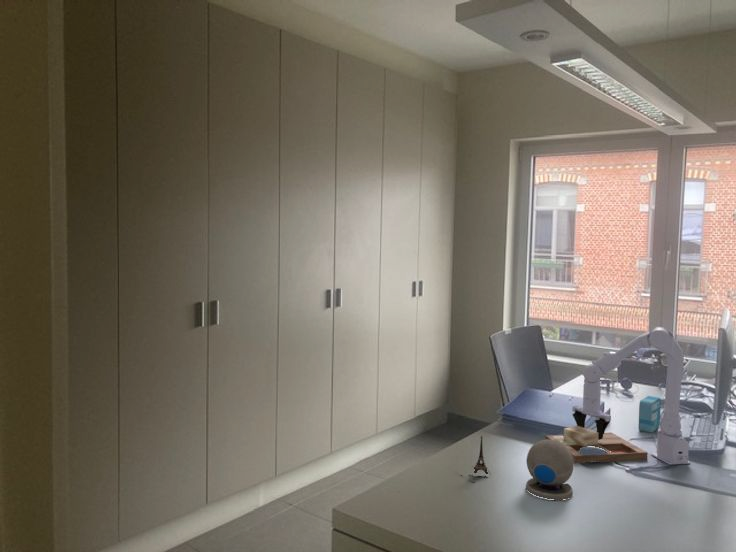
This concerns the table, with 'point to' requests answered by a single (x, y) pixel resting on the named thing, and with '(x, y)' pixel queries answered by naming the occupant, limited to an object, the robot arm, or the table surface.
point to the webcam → (550, 470)
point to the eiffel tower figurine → (480, 465)
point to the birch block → (581, 436)
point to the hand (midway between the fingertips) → (590, 436)
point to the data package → (649, 414)
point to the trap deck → (609, 442)
